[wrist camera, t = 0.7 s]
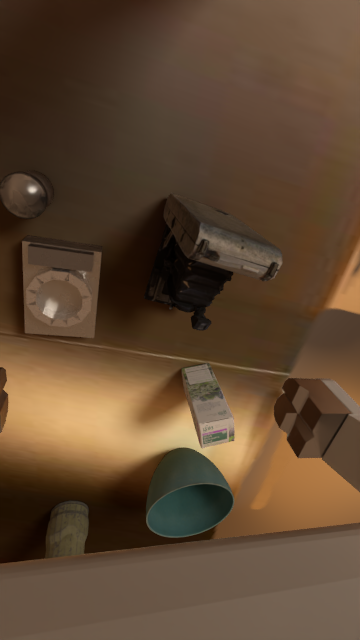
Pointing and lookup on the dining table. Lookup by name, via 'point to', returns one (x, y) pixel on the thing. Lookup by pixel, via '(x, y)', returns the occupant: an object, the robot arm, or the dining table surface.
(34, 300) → the mount
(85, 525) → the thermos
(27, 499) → the dining table surface
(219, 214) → the vintage camera
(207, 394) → the syrup box
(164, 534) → the teal bowl
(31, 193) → the knob
